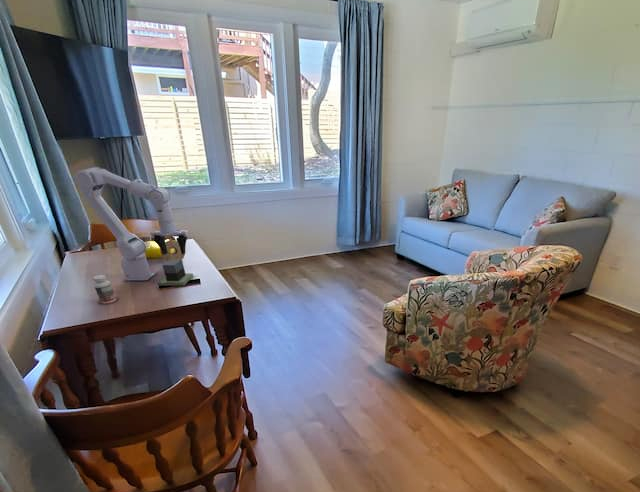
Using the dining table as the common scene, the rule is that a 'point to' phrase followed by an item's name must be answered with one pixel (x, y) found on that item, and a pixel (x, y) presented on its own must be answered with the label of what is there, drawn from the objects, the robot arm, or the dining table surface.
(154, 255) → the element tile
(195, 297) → the dining table surface
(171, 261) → the grey block
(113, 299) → the pill bottle
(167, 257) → the stone disc
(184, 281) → the base pad
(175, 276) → the black rectangular block
